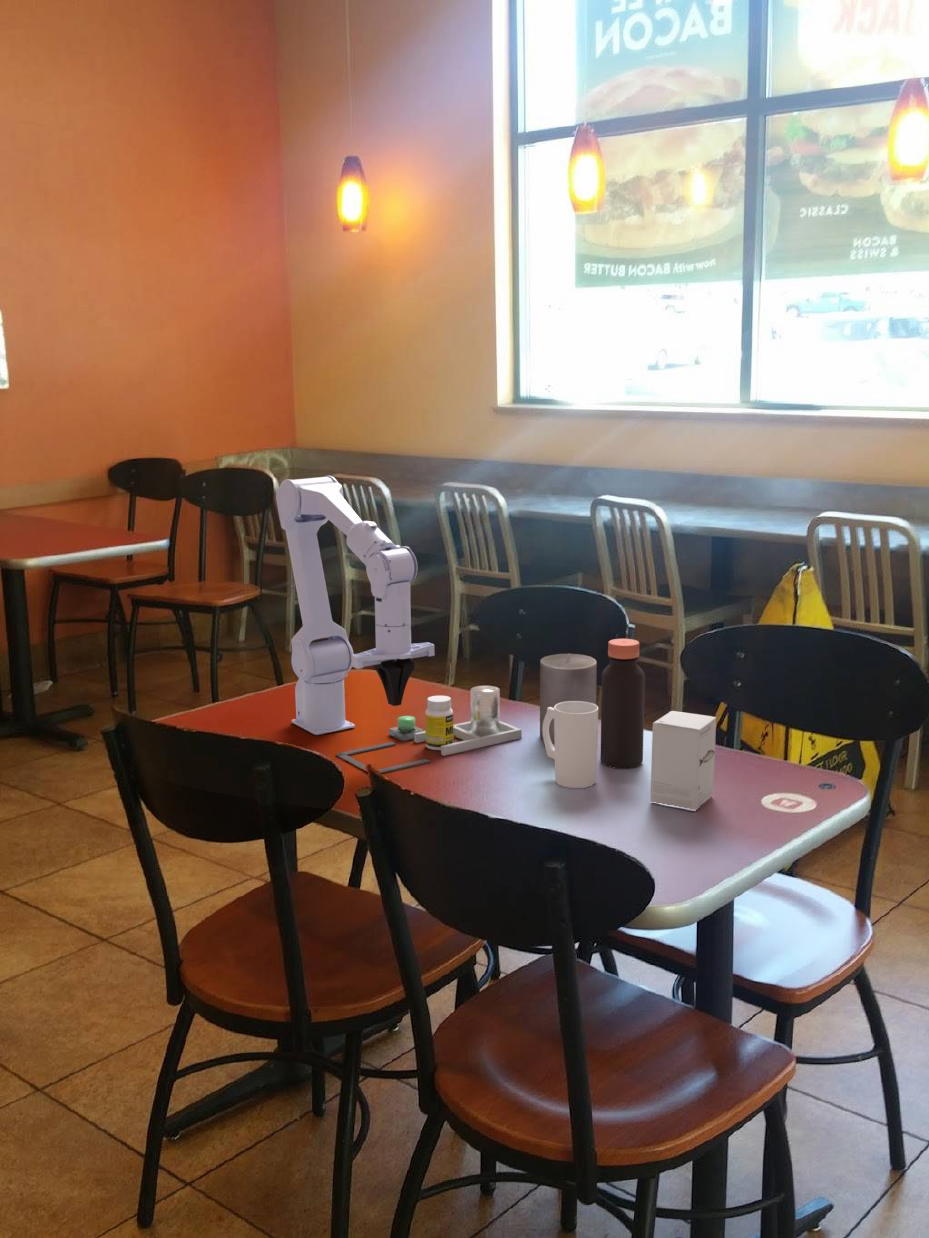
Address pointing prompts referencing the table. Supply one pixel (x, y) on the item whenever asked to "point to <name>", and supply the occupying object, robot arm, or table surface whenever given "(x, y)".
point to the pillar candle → (565, 683)
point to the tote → (346, 754)
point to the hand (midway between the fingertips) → (394, 704)
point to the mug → (573, 742)
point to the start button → (406, 723)
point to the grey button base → (403, 733)
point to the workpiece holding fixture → (473, 737)
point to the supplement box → (683, 759)
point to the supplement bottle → (438, 722)
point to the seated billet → (485, 710)
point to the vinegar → (622, 706)
